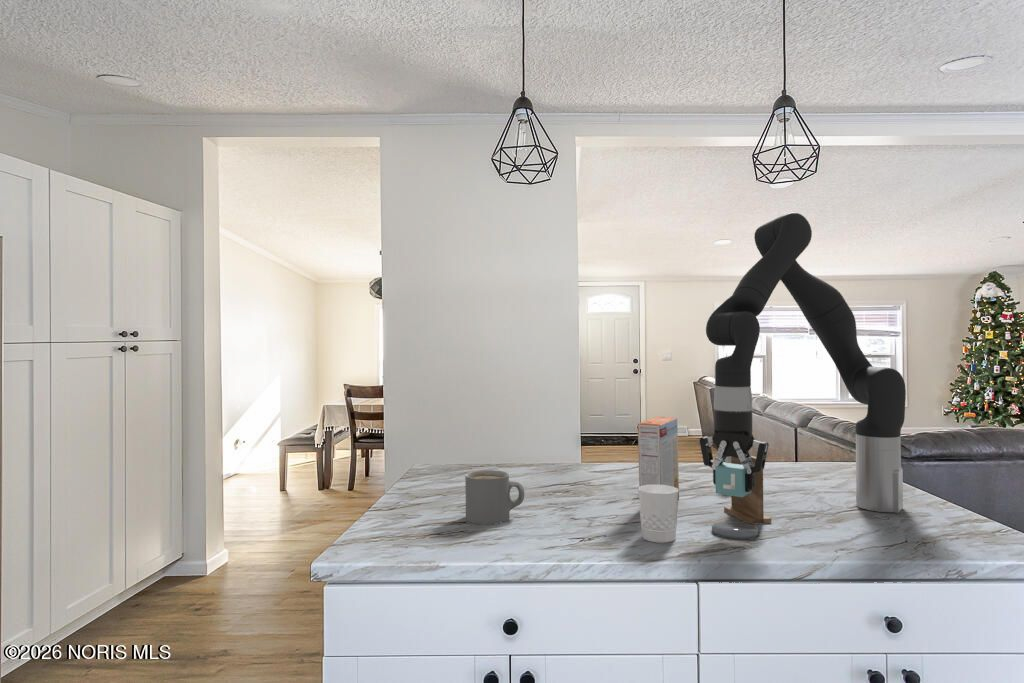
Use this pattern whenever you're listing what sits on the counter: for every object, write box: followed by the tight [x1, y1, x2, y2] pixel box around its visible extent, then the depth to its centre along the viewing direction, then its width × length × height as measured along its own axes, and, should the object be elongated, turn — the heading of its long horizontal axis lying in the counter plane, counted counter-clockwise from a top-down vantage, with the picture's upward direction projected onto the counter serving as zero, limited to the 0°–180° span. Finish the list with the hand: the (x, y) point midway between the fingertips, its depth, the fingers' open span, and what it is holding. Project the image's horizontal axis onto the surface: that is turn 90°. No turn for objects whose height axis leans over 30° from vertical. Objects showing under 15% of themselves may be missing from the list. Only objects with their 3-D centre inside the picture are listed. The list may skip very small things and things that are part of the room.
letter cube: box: [715, 462, 751, 497], centre depth 132 cm, size 6×6×6 cm
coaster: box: [711, 521, 759, 540], centre depth 132 cm, size 9×9×1 cm
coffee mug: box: [464, 469, 525, 525], centre depth 145 cm, size 13×10×10 cm
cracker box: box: [637, 416, 680, 502], centre depth 154 cm, size 14×6×21 cm, turn 149°
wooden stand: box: [723, 455, 772, 525], centre depth 144 cm, size 5×11×14 cm, turn 11°
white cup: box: [638, 485, 679, 544], centre depth 129 cm, size 8×8×10 cm
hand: (733, 488), depth 132 cm, fingers closed on letter cube, 5 cm apart
